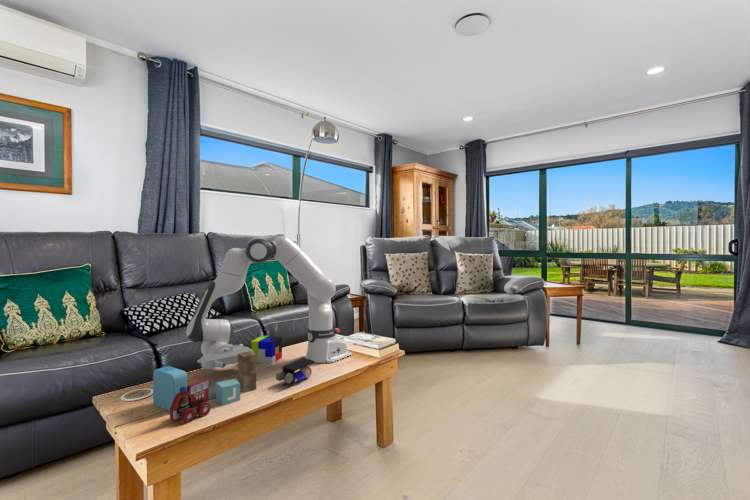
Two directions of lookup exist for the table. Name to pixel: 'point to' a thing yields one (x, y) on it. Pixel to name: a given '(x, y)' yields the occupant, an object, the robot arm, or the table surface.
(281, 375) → the toy car
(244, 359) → the walnut block
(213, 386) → the mat
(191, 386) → the toy fire truck
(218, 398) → the letter cube
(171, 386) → the data package
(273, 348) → the puzzle toy
